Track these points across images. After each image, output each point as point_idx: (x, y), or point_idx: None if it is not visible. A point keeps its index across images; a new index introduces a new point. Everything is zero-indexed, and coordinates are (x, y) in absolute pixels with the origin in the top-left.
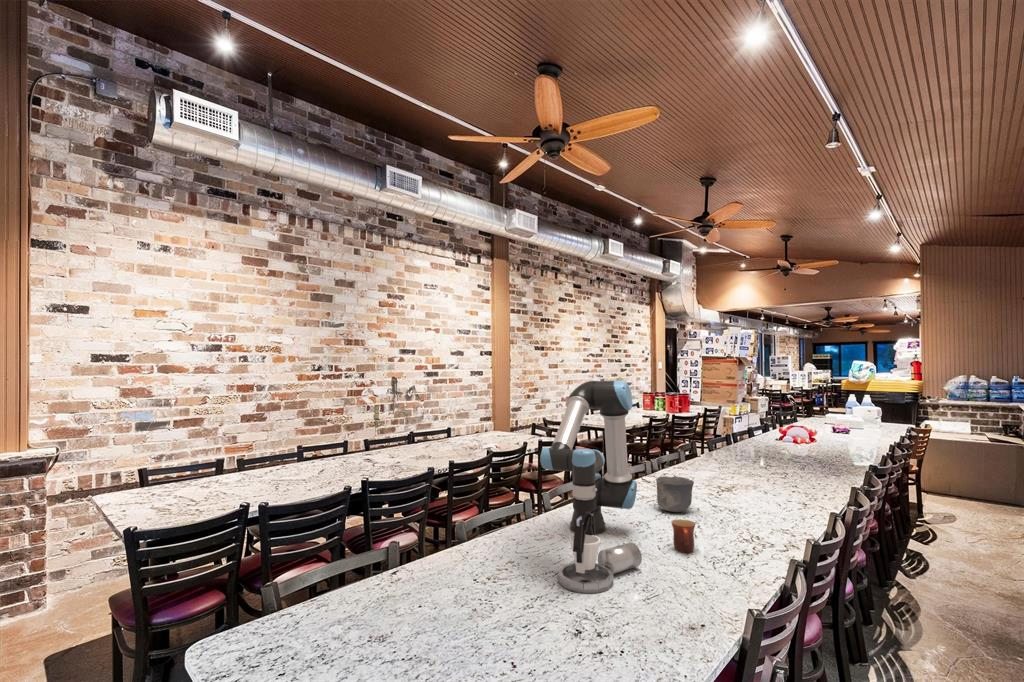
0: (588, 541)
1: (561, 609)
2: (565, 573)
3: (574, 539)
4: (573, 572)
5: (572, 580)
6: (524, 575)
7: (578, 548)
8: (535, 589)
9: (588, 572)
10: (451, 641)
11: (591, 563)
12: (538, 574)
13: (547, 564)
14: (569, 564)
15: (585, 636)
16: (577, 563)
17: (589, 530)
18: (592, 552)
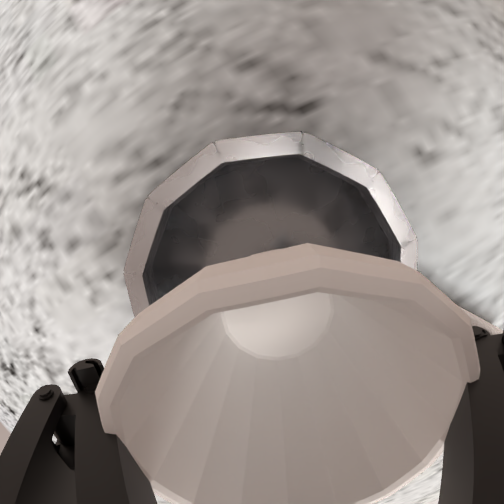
0: (417, 376)
1: (31, 299)
2: (269, 164)
3: (5, 460)
4: (308, 197)
5: (142, 281)
6: (172, 12)
7: (59, 438)
8: (76, 132)
9: None
10: None
11: (245, 385)
12: (215, 45)
13: (348, 32)
14: (335, 160)
15: (13, 384)
16: None
17: (448, 484)
18: (234, 450)
